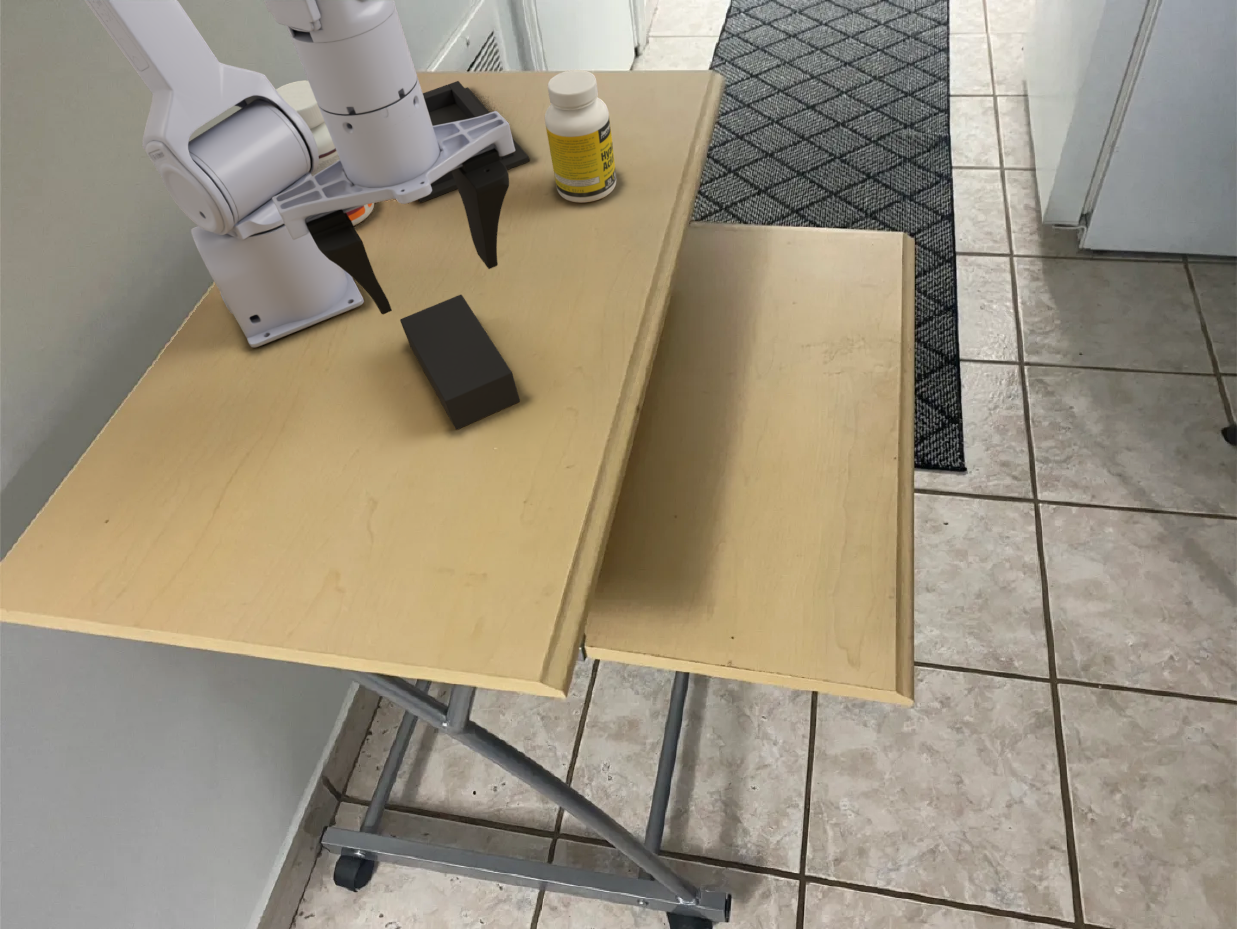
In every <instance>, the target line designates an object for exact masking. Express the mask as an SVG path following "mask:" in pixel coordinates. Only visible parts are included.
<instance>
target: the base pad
mask: <svg viewBox="0 0 1237 929" xmlns="http://www.w3.org/2000/svg"><path fill="white" fill-rule="evenodd" d="M422 93H423V96H424V100H425V103H426V106H427V109H428V113H429V116H430V119H431V122H432V126H435V125H440V124H446V123H451V122H456V121H461V120H466V119H471V118H475V117H479V116H482V115H485V114H488V113H491V112H490V110H488V108H487V107H486V106H485V105H484V104H483V103H482V101H480V99H479V98H478V97H477V96H476V95H475V94H474V92H473V91H472V90H471V89H470V88H469V87H468V86H467V87H464V86H463V85H462V83H461V82H460V80H456V81H453V82H451V83H448V84H445V85H442V86H438V87H437V88H434V89H431V90H428V91H426V92H422ZM512 139H513V143H514V147H515V152H512V153H510V154H507V155H505V156H499V159H500V161H501V162H502V163H503V164H504V165H505V166H506V168H507V171H508V170H510V169H513V168H515V167H518V166H520V165H524V164H526V163H529V162H530V161H531V160H530V156H529V155H528V153H526V151H524V149H523V148H522V147H521V146H520V145H519V144H518V143H517V141H516V140H515V139H514V138H513V137H512ZM431 187H432V192H431V193H430V194H429V195H427V196H425V197H423V198H420V199H418V200H417V201H418V202H419V203H421V204H422V203H424V202H426V201H429V200H433V199H434V198H437V197H440V196H442V195H445V194H448V193H450V192H453V191H456V190H458V188H457V185H456V182H455V180H454V177H453V174H452V172H451V171H449V172H448V173H446V174H445V175H443V176H442V177H440V178H439V179H437V180H436V181H434V182H433V183H431Z"/></svg>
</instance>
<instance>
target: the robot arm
mask: <svg viewBox="0 0 1237 929" xmlns="http://www.w3.org/2000/svg"><path fill="white" fill-rule="evenodd" d="M83 1H84V2H85V4H86V5H87V7H88V8H89V9H90V11H91V12H92V14H93V15H94V16H95V17H96V19H97V20H98V21H99V23H100V25H101V26H102V27H103V29H104V30H105V31H106V32H107V34H108V35H109V37H110V38H111V39H112V40H113V42H114V43H115V45H116V46H117V48H118V49H119V50H120V52H121V53H122V54H123V56H124V57H125V59H126V60H127V62H128V63H129V64H130V65H131V67H132V68H133V69H134V71H135V72H136V74H137V75H138V76H139V78H140V79H141V81H142V82H143V83H144V85H145V86H146V87H147V89H148V90H149V92H150V93H151V94H152V96H151V98H152V99H151V103H150V106H149V112H148V115H147V119H146V123H145V127H144V131H143V136H142V142H141V145H142V146H141V147H142V148H143V149H144V151H145V154H146V157H147V158H148V159H149V161H150V162H151V163H152V165H153V167H154V168H155V169H156V172H157V173H158V174H159V176H160V179H161V181H162V184H163V186H164V188H165V190H166V191H167V194H168V195H169V196H170V198H171V199H172V201H173V202H174V203H175V205H176V206H177V207H178V208H179V209H180V210H181V212H182V213H183V214H184V215H185V216H186V217H187V218H188V219H189V220H190V221H192V222H193V223H194V224H195V225H196V226H194V227H193V228H191V229H190V234H191V236H192V239H193V241H194V244H195V246H196V248H197V251H198V253H199V255H200V257H201V259H202V261H203V263H204V265H205V267H206V269H207V271H208V273H209V275H210V276H211V278H212V281H213V282H214V284H215V286H216V287H217V290H218V291H219V293H220V296H221V299H222V301H223V302H224V304H225V306H226V309H227V310H228V311H229V313H230V314H232V315H233V317H234V318H235V320H236V322H237V323H238V325H239V328H240V329H241V330H242V332H243V334H244V336H245V338H246V339H247V343H248V345H249V346H250V347H251V348H258V347H261V346H263V345H266V344H269V343H272V342H274V341H276V340H279V339H282V338H284V337H286V336H288V335H290V334H293V333H296V332H299V331H301V330H303V329H306V328H308V327H311V326H313V325H316V324H318V323H320V322H323V321H326V320H328V319H330V318H333V317H336V316H338V315H340V314H343V313H345V312H348V311H351V310H353V309H356V308H358V307H360V306H362V305H363V304H364V302H365V300H364V298H363V296H362V293H361V292H360V289H359V288H358V285H357V284H356V282H357V283H358V284H359V286H360V287H362V288H363V289H364V291H365V292H366V293H367V294H368V295H369V296H370V298H371V299H372V300H373V302H374V304H375V305H376V307H377V309H378V311H379V312H380V314H381V315H385V314H387V313H390V312H392V311H393V309H392V306H391V304H390V301H389V299H388V297H387V295H386V293H385V292H384V290H383V288H382V286H381V285H380V283H379V281H378V279H377V276H376V275H375V272H374V269H373V267H372V264H371V261H370V259H369V256H368V254H367V251H366V248H365V244H364V241H363V240H362V238H361V237H360V234H359V233H358V231H357V230H356V228H355V227H354V226H355V225H354V226H353V224H352V221H351V220H350V218H349V217H348V215H347V213H346V212H349V211H351V210H354V209H356V208H359V207H361V206H364V205H366V204H371V203H374V204H376V203H382V202H386V201H391V200H396V201H397V202H398V203H399V204H401V205H407V204H410V203H413V202H415V201H418V199H420V198H423V197H425V196H427V195H429V194H430V193H431V192H432V187H431V183H433V182H434V181H436V180H437V179H439V178H440V177H442V176H443V175H445V174H446V173H448V172H449V171H451V172H452V174H453V177H454V180H455V182H456V185H457V188H458V189H457V190H458V192H459V196H460V198H461V202H462V204H463V207H464V211H465V214H466V219H467V223H468V227H469V232H470V236H471V239H472V243H473V245H474V249H475V251H476V254H477V255H478V257H479V258H480V259H481V261H482V262H483V263H484V265H485V266H486V268H487V269H488V270H490V269H493V268H496V267H497V266H498V265H499V264H498V263H499V262H498V233H499V232H498V231H499V223H500V218H501V211H502V207H503V204H504V200H505V198H506V194H507V192H508V190H509V187H510V178H509V177H510V176H509V171H508V170H507V168H506V166H505V165H504V164H503V163H502V162H501V161H500V159H499V156H505V155H507V154H510V153H512V152H515V147H514V143H513V139H514V138H513V135H512V130H511V126H510V123H509V122H508V121H507V119H506V118H505V117H503V116H502V115H501V113H499V111H497V110H494V111H491V112H490V113H488V114H485V115H482V116H479V117H475V118H471V119H466V120H461V121H456V122H451V123H446V124H440V125H435V126H432V122H431V119H430V116H429V113H428V109H427V106H426V103H425V100H424V96H423V93H424V92H423V89H422V86H421V84H420V81H419V76H418V74H417V70H416V68H415V67H416V66H415V64H414V61H413V57H412V54H411V51H410V47H409V45H408V41H407V38H406V35H405V32H404V29H403V28H404V27H403V25H402V22H401V19H400V15H399V12H398V9H397V6H396V1H395V0H263V2H264V4H265V7H266V10H267V11H268V13H271V14H272V17H273V19H274V20H275V22H276V23H277V24H279V25H282V26H285V27H286V29H287V31H288V35H289V37H290V39H291V41H292V44H293V47H294V49H295V51H296V54H297V57H298V59H299V62H300V64H301V66H302V69H303V72H304V74H305V76H306V79H307V80H308V81H309V84H310V86H311V89H312V91H313V94H314V96H315V99H316V101H317V104H318V106H319V109H320V111H321V114H322V116H323V119H324V121H325V124H326V126H327V128H328V131H329V133H330V136H331V138H332V141H333V143H334V146H335V148H336V151H337V153H338V156H339V158H340V160H338V161H336V162H335V163H333V164H332V165H330V166H328V167H327V168H325V169H324V170H322V171H320V172H319V173H317V174H315V175H314V176H312V175H311V174H312V173H313V172H314V171H315V170H316V169H317V167H318V164H319V156H318V149H317V144H316V141H315V139H314V136H313V134H312V132H311V130H310V129H309V127H308V125H307V124H306V122H305V121H304V120H303V118H302V117H301V116H300V115H299V114H298V112H297V111H296V110H295V109H293V108H292V107H291V106H290V105H289V104H288V103H287V102H286V101H285V100H284V99H283V98H282V97H281V95H280V94H279V93H278V92H277V90H276V89H277V88H275V86H274V85H273V84H272V82H271V81H270V80H269V79H268V77H267V75H265V74H264V73H262V72H259V71H255V70H252V69H248V68H243V67H239V66H235V65H230V64H226V63H223V62H220V61H219V59H218V58H217V57H216V55H215V53H214V52H213V51H212V49H211V48H210V46H209V45H208V43H207V42H206V40H205V39H204V37H203V36H202V34H201V33H200V31H199V30H198V28H197V27H196V25H195V24H194V22H193V21H192V19H191V18H190V17H189V15H188V13H187V12H186V11H185V9H184V8H183V6H182V5H181V3H180V1H178V0H83ZM233 107H238V108H240V109H238V110H236V111H235V112H233V113H232V114H230V115H228V116H227V117H225V118H224V119H222V120H221V121H219V122H218V123H216V124H214V125H213V126H210V128H208V129H206V130H205V131H203V132H201V133H200V134H198V135H197V136H195V137H194V138H192V139H191V140H190V138H191V136H192V135H193V134H194V133H195V132H196V131H197V130H198V129H199V128H201V127H202V126H204V125H206V124H207V123H209V122H211V121H212V120H214V119H215V118H217V117H218V116H220V115H222V114H223V113H225V112H226V111H228V110H229V109H232V108H233ZM512 138H513V139H512ZM355 281H356V282H355Z"/></svg>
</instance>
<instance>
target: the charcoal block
mask: <svg viewBox="0 0 1237 929" xmlns="http://www.w3.org/2000/svg"><path fill="white" fill-rule="evenodd" d="M399 322H400V324H401V326H402V330H403V332H404V335H405V336H406V340H407V342H408V344H409V347H410V349H411V351H412V353H413V355H414V356H415V358H416V360H417V361H418V363H419V365H420V367H421V369H422V371H423V373H424V374H425V376H426V378H427V380H428V382H429V383H430V385H431V387H432V389H433V392H434V393H435V395H436V396H437V398H438V400H439V402H440V404H441V405H442V407H443V409H444V411H445V413H446V414H447V417H448V418H449V420H450V422H451V424H452V426H453V428H454V429H455V430H456V431H458V430H460V429H462V428H464V427H466V426H469V425H471V424H473V423H476V422H478V421H480V420H482V419H484V418H486V417H489V416H491V415H493V414H495V413H498V412H500V411H502V410H504V409H508V408H509V407H512V406H513V405H516V404H518V403H520V402H521V399H520V395H519V392H518V388H517V385H516V381H515V378H514V375H513V371H512V370H511V368H510V367H509V365H508V363H507V362H506V361H505V359H504V358H503V356H502V354H501V353H500V351H499V350H498V348H497V347H496V345H495V344H494V342H493V340H492V339H491V337H490V336H489V335H488V333H487V332H486V330H485V328H484V327H483V325H482V323H481V322H480V321H479V319H478V318H477V316H476V314H475V313H474V311H473V310H472V308H471V307H470V305H469V304H468V302H467V300H466V299H465V297H464V296H463V294H458V295H456V296H454V297H451V298H448V299H446V300H444V301H441V302H439V303H436V304H434V305H431V306H429V307H427V308H424V309H422V310H419V311H417V312H415V313H412V314H410V315H407V316H404V317H402V318H400V319H399Z"/></svg>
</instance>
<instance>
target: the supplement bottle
mask: <svg viewBox="0 0 1237 929" xmlns="http://www.w3.org/2000/svg"><path fill="white" fill-rule="evenodd" d="M547 93H548V98H549V102H550V104H549V106H548V107H547V109H546V111H545V114H544V124H545V130H546V136H547V141H548V147H549V152H550V158H551V163H552V170H553V171H552V172H553V176H554V182H555V186H556V190H557V192H558V194H559V195H560V196H561V197H562V198H563V199H564V200H566V201H569V202H573V203H580V204H581V203H591V202H595V201H598V200H601V199H603V198H605V197H607V196H608V195H609V194H611V193H612V192H613V190H614V189H615V187H616V185H617V170H616V162H615V154H614V146H613V136H612V128H611V127H612V126H611V120H610V112H609V109H608V108H609V107H608V106H607V104H606V103H605V101H603V100H602V98H600V97H599V94H598V93H599V90H598V82H597V78H596V76H595V75H594V74H593V73H592V72H590V71H588V70H583V69H569V70H566V71H561V72H559V73H557V74H556V75H553V76H552V77H551V78H550V79H549V81H548V82H547Z"/></svg>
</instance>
